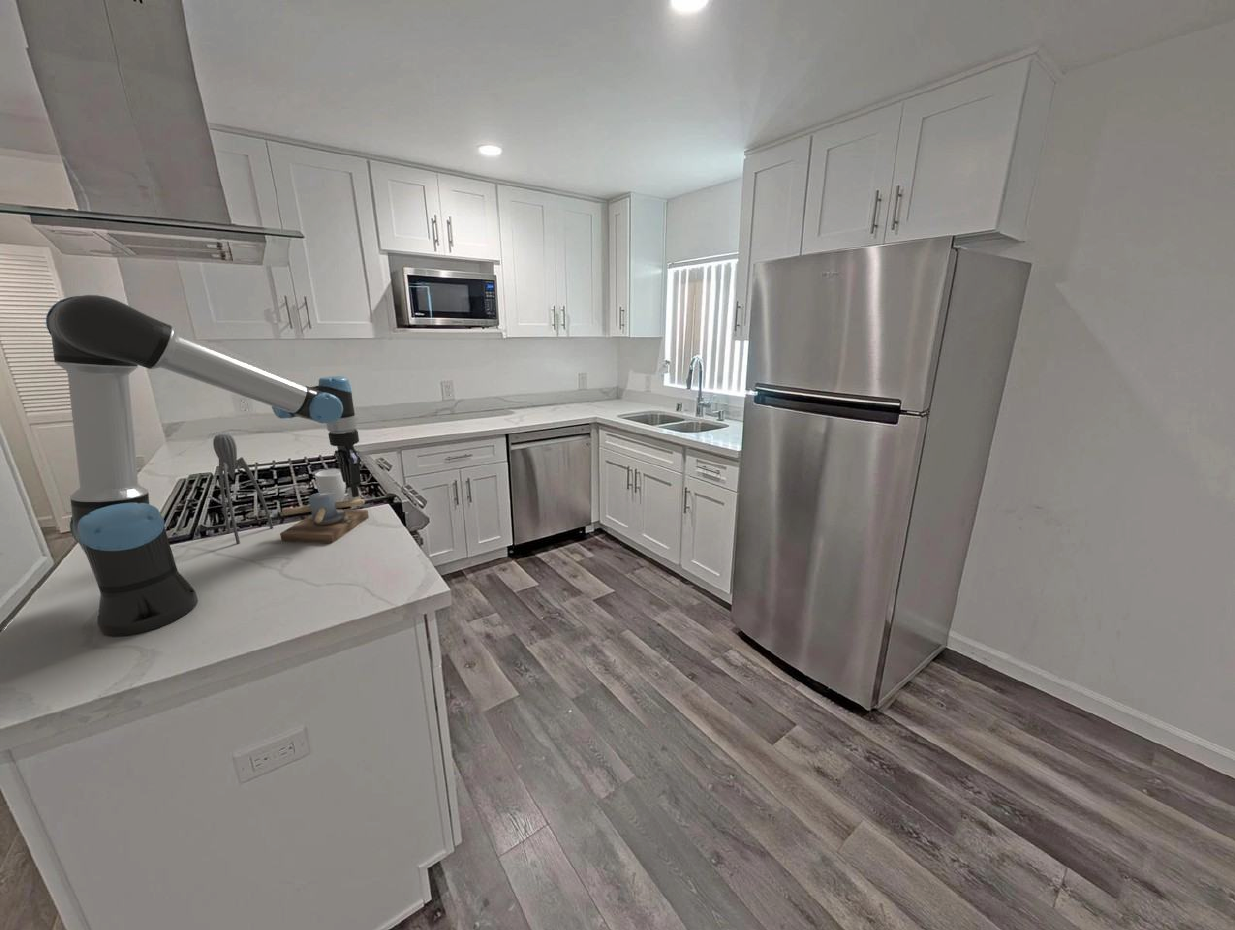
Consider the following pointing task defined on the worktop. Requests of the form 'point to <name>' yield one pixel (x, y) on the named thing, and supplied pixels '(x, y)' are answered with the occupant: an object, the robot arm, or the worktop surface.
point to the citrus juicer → (229, 462)
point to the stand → (323, 528)
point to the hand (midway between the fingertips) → (355, 505)
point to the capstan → (324, 508)
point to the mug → (331, 483)
